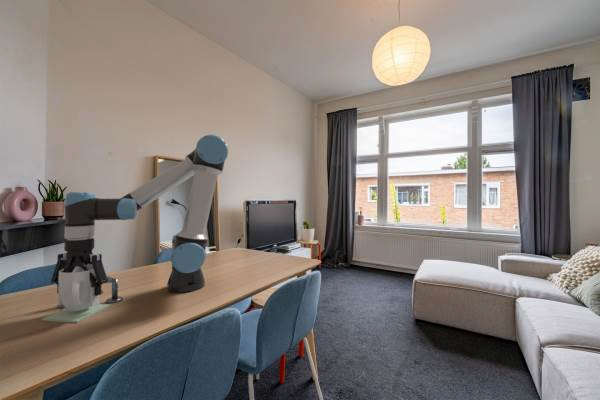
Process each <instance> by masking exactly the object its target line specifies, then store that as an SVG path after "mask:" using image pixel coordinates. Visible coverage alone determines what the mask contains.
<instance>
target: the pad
mask: <svg viewBox="0 0 600 400" xmlns="http://www.w3.org/2000/svg"><path fill="white" fill-rule="evenodd" d="M111 306H112V305H111V304H105V303H104V304H102V303H100V304H97V305H95V306H93V307H89V308H86V309H83V310H78V311H69V310H67V309H66V308H64V309H63V310H62V309H61V310H60V311H58V312H55V313H52V314H50V315H48V316H45V317H43V318H42V321H43V322H59V323H73V324H79V323H80V322H82V321H84V320H86V319H88V318H90V317H92V316H95V315H97V314H99V313H100V312H103V311H105V310H107V309H108V308H111Z"/></svg>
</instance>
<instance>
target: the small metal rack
mask: <svg viewBox="0 0 600 400" xmlns="http://www.w3.org/2000/svg"><path fill="white" fill-rule="evenodd" d="M106 277H107V280H108V281H107V282H106V283H105V284H111V297H109V298H107V299H106V300H105V302H106V303H107V304H115V303H120V302H121V301H123V300H124V298H123V296H121V295H120V296H119V293H118V292H119V278H115V277H111V276H107V275H106ZM102 293H103V294H104V290H102V289H101V294H100V296H101V295H103V294H102ZM57 309H66V308H65V307H64V305H63V304H61V305H58V304H57Z"/></svg>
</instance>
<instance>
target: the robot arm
mask: <svg viewBox="0 0 600 400" xmlns="http://www.w3.org/2000/svg"><path fill="white" fill-rule="evenodd" d="M184 157H185V158H184V160H182V161H180V162H178V163H177V164H176V165H174V166H172V167H170V168H169V169H167V170H165V171H164V172H162V173H160V174H159V175H157V176H155V177H154V178H152V179H149V181H147V182H146V183H144V184H142V185H140V186H138V187H137V188H135V189H134V190H132V191H130V192H129V193H127V194H125V195H123V196H122V197H120V198H100V197H99V198H98V197H96V194H95V193H94V192H85V191H84V192H83V191H81V192H80V191H79V192H77V191H76V192H74V191H73V192H72V191H71V192H67V193H66V194H65V202H64V237H63V238H64V239H66V240H65V241H64V243H63V244H64V245H63V246H64V248H63V249H64V251H65V252H64V253H58V254H57V261H56V264H55V268H54V270H53V273H52V277H51V279H50V282H51V283H55V284H56V287H57V288H56V289H57V294H58V295H57V296H58V297H57V298H58V300H57V306H58V305H61V304H62V302H61V298H60V294H59V283H58V282H59V279H58V278H59V271H60V270H62V269H64V270H63V273H72V272H73V270H74V268H75V267H76V266H77V267H81V268H82V269H84V271H89V270H93V269H94V272H95V273H90V272H89V279H90V281H91V283H92V286H91V287H90V307H93V306H95V305H97V304H101V299H100V298H101V295H102V294H101V290H102V285H103V284H107V283H106V282H107V281H108V280H107V277H108V276H107V274H106V271H105V267H104V265H103V260H102V258H103V257H102V253H97V254H94V253H93V250H94V249H95V238H94V237H95V226H96V224H95V221H117V220H118V221H120V220H121V221H127V220H128V221H129V220H135V219H136V217H137V213H138V212H139V211H140V210H141V209H143V208H144V207H146V206H148V205H149V204H150V203H153V202H154V201H155V200H157V199H159V198H160V197H162V196H163V195H165V194H167V193H168V192H170V191H172V189H175V188H176V187H178V186H179V185H181V184H182V183H184V182H186V181H187V180H189V179H190V178H192V177H193V179H192V184H191V188H190V193H189V195H188V196H189V198H188V201H187V206H186V210H185V215H184V220H183V223H182V227H181V230H180V231H179V232H177V233H176V234H174V235H173V236H172V240H171V256H170V261H171V272H170V275H169V278H168V281H167V285H166V289H167V291H169V292H171V293H189V292H192V291H197V290H200V289H202V288H203V287H204V286H205V285H206V279H205V276H204V273H203V270H202V267H203V265H204V264H205V261H206V259H207V258H206V257H207V256H206V250H207V245H208V240H209V238H208V237H207V234H206V231H207V230H206V229H207V225H208V221H209V216H210V211H211V207H212V204H213V203H212V202H213V198H214V195H215V194H214V193H215V188H216V186H217V185H216V184H217V179H218V177H219V175H221V174H222V173H223V172H224V171H223V170H224V166H225V161H226V159H228V157H229V147H228V145H227V142H226V141H225V140H224V139H223V138H222V137H221V136H218V135H216V134H207V135H204V136H202V137H200V138H199V140H198V141H197V143H196V146H195V148H194V150H192V151H191V152H190V153H188V154H186V155H185V156H184ZM106 276H107V277H106ZM96 281H97V282H96ZM100 294H101V295H100Z"/></svg>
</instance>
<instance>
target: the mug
mask: <svg viewBox="0 0 600 400" xmlns="http://www.w3.org/2000/svg"><path fill="white" fill-rule="evenodd" d="M63 270H64V269H62V270H60V271H59V278H58V277H57V278H58V279H59V282H58V283H59V294H60V298H61V302H62V304H63V305H64V307H65V308H64V309H67V310H69V311H78V310H83V309H86V308H89V307H90V287H91V286H92V283H91V281H90V279H89V272H90V273H95V272H94V269H93V270H89V271H84V269H82V268H81V267H77V266H76V267H75V268H74V270H73V272H72V273H63ZM96 282H97V281H96Z"/></svg>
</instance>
